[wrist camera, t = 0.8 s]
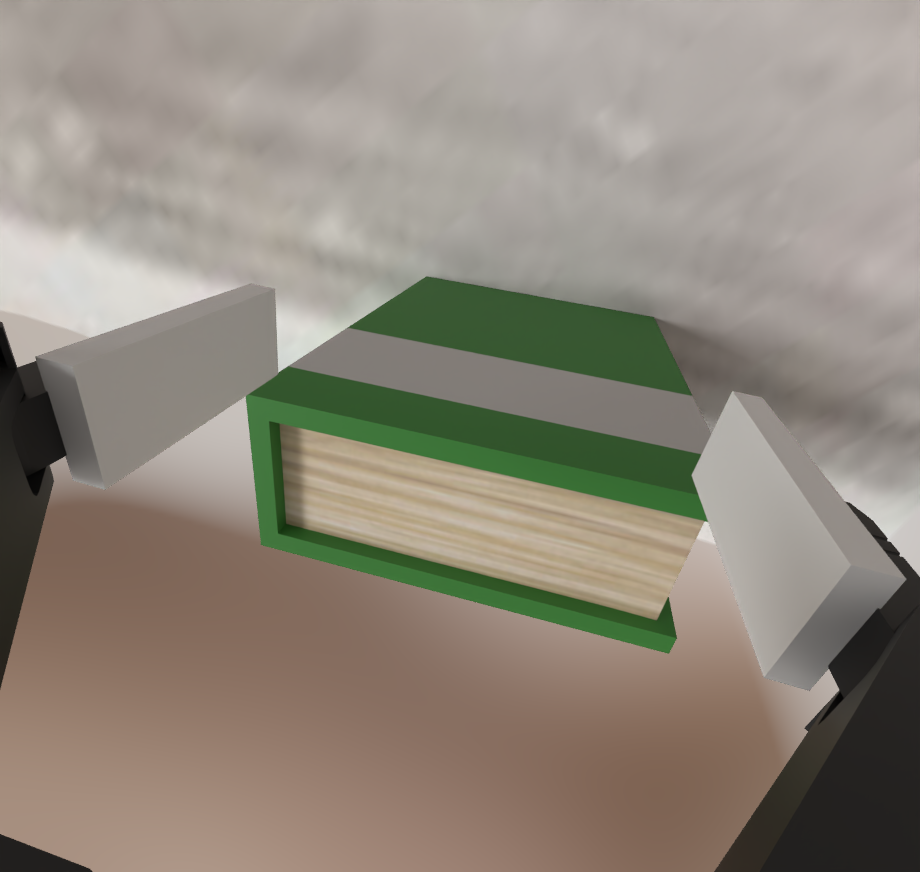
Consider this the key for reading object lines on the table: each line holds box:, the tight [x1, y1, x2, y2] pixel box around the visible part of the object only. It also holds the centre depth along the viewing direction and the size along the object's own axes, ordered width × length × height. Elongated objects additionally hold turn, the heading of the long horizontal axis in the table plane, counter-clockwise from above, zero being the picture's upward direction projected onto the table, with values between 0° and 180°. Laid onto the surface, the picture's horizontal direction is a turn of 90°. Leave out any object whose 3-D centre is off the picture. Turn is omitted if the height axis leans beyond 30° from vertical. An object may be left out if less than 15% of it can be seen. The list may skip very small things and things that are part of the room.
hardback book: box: [246, 277, 711, 653], centre depth 29 cm, size 18×7×24 cm, turn 83°
